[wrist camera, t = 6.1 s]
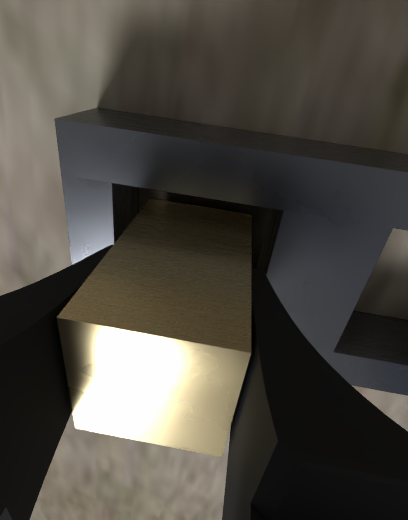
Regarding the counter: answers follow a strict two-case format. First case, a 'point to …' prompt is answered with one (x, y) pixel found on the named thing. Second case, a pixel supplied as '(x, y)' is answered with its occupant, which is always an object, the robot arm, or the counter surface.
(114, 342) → the brass peg
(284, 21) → the counter surface
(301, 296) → the grey slotted block
